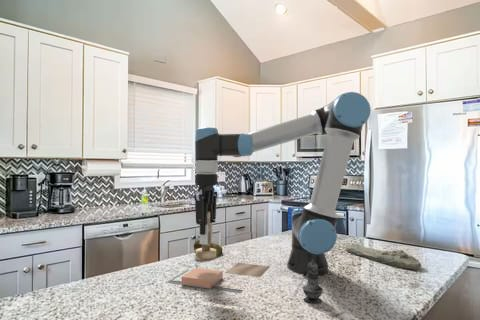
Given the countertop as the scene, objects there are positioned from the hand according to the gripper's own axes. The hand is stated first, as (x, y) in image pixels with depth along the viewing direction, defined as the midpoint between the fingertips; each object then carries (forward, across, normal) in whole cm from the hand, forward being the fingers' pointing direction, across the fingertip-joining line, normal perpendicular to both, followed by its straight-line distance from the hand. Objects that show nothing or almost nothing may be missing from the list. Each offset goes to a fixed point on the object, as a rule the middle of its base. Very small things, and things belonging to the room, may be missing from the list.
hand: (206, 242), depth 115 cm
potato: (+13, -27, -12) cm, 32 cm away
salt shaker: (+13, +3, +36) cm, 39 cm away
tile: (+11, -2, 0) cm, 11 cm away
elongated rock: (+14, -51, +56) cm, 77 cm away
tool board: (+13, -15, +10) cm, 22 cm away
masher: (+5, 0, 0) cm, 5 cm away
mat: (+13, 0, +2) cm, 13 cm away
